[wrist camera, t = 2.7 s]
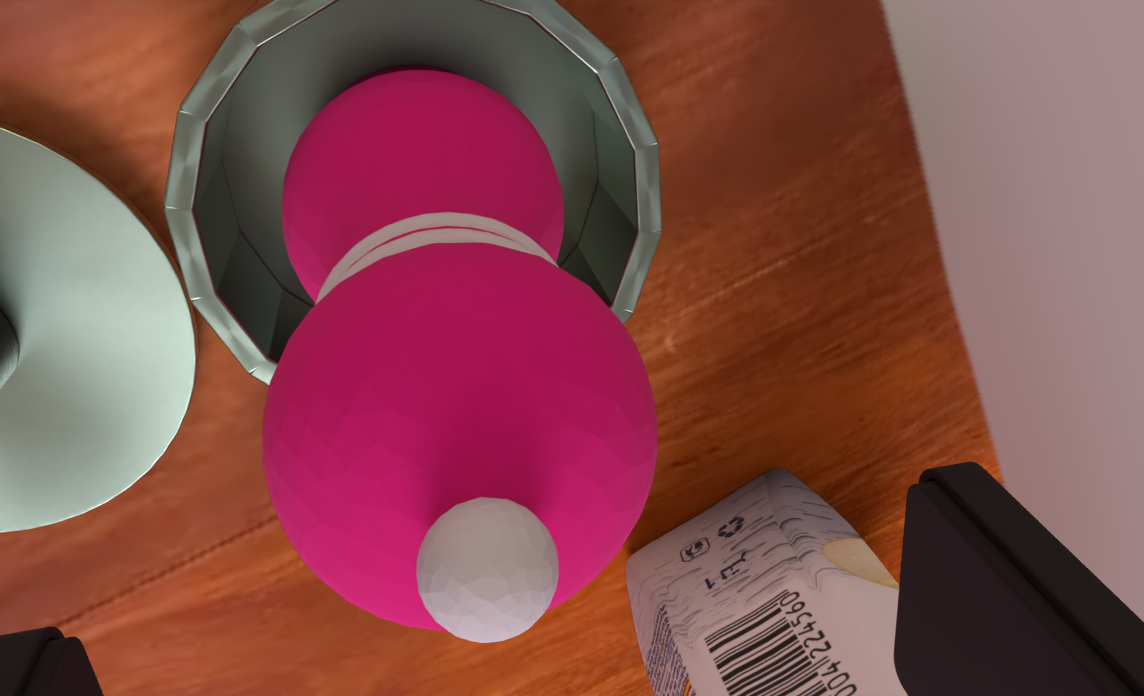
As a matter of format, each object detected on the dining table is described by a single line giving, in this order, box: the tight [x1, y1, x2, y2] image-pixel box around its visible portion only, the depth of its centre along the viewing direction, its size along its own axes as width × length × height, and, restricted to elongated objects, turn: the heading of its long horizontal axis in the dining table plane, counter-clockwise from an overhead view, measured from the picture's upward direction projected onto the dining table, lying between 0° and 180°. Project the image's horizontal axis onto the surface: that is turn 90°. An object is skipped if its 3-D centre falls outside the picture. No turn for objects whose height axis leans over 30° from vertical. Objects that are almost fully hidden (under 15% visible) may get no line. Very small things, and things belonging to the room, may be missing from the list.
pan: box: [163, 0, 663, 385], centre depth 27 cm, size 12×12×5 cm
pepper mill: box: [262, 64, 658, 643], centre depth 20 cm, size 7×7×20 cm
